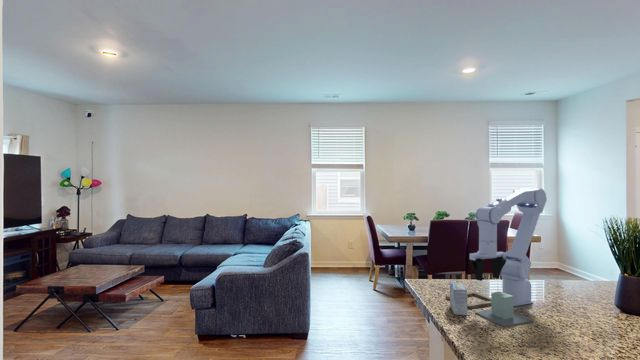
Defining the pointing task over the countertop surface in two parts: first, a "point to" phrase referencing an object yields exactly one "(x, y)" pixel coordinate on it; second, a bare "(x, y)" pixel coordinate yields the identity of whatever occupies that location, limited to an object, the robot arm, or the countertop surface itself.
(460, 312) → the medicine box
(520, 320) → the rubber mat
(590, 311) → the countertop surface
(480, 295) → the holder frame
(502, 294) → the sage block
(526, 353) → the countertop surface
